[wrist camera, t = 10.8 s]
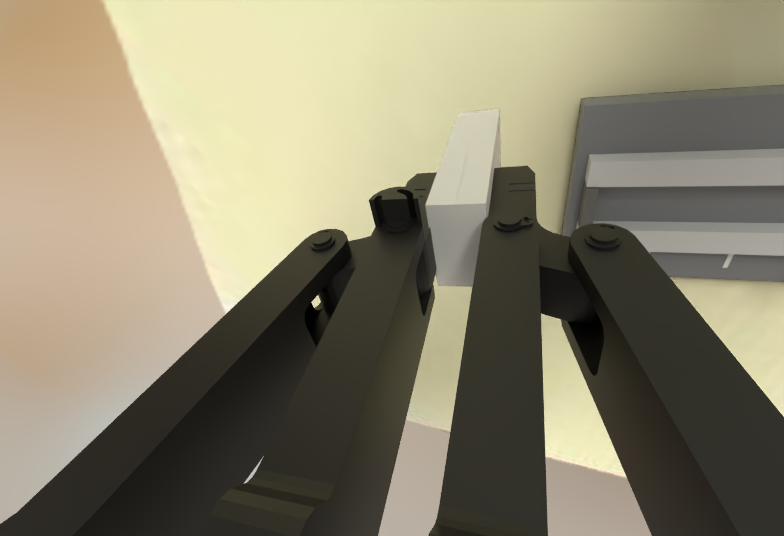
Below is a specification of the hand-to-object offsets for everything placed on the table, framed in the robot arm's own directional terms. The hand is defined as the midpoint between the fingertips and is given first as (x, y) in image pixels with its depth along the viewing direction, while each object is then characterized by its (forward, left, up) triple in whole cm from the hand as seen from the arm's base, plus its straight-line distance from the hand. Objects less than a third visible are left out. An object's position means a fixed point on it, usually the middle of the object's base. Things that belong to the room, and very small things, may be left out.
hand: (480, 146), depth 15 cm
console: (+15, +22, -24) cm, 35 cm away
